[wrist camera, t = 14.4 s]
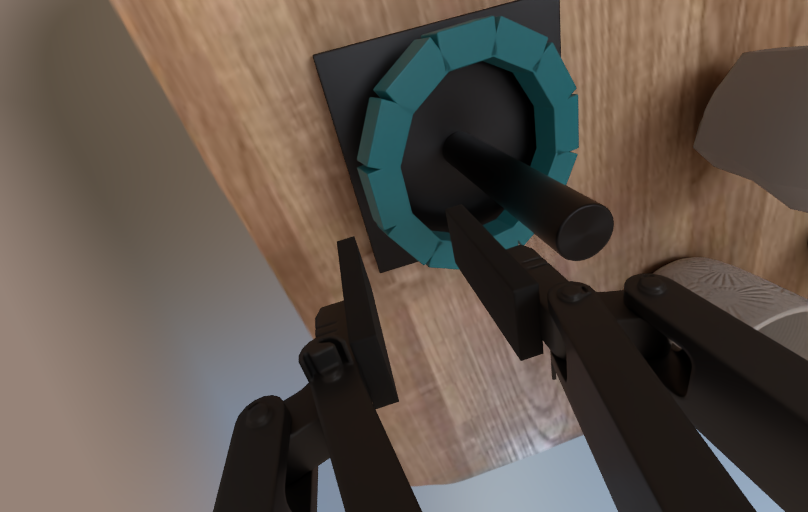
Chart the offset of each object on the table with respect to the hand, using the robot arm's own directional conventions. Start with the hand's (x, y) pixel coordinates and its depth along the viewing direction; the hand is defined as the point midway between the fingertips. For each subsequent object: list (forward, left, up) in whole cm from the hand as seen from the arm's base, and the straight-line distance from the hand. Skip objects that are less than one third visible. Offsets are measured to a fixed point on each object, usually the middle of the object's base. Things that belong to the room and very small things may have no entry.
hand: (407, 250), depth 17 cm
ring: (+6, 0, -10) cm, 12 cm away
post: (+7, 0, -14) cm, 15 cm away
